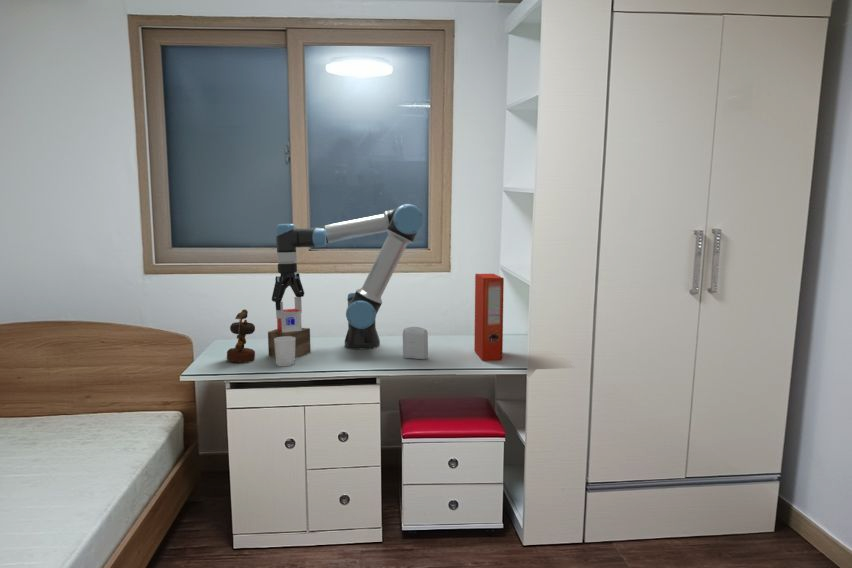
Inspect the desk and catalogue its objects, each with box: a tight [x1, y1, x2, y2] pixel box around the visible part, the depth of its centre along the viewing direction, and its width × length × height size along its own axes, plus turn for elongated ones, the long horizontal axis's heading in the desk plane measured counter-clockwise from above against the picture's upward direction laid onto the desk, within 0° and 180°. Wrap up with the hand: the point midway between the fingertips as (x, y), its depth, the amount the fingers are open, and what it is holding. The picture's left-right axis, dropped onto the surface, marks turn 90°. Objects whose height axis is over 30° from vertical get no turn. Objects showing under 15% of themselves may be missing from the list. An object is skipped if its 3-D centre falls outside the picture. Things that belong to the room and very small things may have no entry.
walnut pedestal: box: [267, 327, 311, 359], centre depth 258 cm, size 12×12×10 cm
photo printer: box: [402, 326, 429, 360], centre depth 250 cm, size 10×4×12 cm, turn 65°
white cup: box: [274, 336, 296, 367], centre depth 242 cm, size 8×8×10 cm
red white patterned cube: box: [276, 308, 303, 332], centre depth 257 cm, size 8×8×8 cm
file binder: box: [473, 273, 505, 362], centre depth 252 cm, size 8×17×32 cm, turn 6°
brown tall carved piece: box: [226, 308, 256, 363], centre depth 249 cm, size 15×11×20 cm
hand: (289, 315), depth 257 cm, fingers open, 13 cm apart
